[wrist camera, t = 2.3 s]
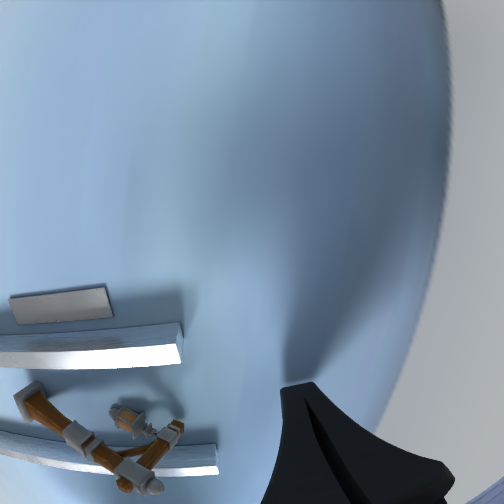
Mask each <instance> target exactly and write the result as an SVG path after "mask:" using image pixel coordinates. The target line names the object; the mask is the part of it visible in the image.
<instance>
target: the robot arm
mask: <svg viewBox="0 0 504 504" xmlns="http://www.w3.org/2000/svg"><path fill="white" fill-rule="evenodd" d="M280 396H281V408H282V419H283V426H282V434H281V441H280V446H279V451H278V456H277V460H276V463H275V467H274V470H273V473H272V477H271V479H270V482H269V485H268V487H267V490H266V492H265V495H264V497H263V499H262V501H261V504H447V502H446V500H445V499H444V496H445V495H446V494H447V493H448V491H449V490H450V489H451V487H452V486H453V484H454V482H455V477H454V476H453V475H452V473H451V472H450V471H449V469H448V468H447V467H446V466H445V465H444V464H443V463H442V462H441V461H437V460H433V459H429V458H425V457H421V456H418V455H415V454H412V453H410V452H407V451H405V450H403V449H400V448H398V447H396V446H393V445H391V444H389V443H387V442H385V441H384V440H382V439H380V438H378V437H377V436H375V435H373V434H372V433H370V432H369V431H367V430H366V429H364V428H363V427H361V426H360V425H359V424H357V423H356V422H355V421H353V420H352V419H351V418H349V417H348V416H347V415H346V414H345V413H344V412H342V411H341V410H340V409H339V408H338V407H337V406H336V405H335V404H334V403H333V402H332V401H331V400H330V399H329V398H328V397H327V396H326V395H325V394H324V393H323V392H322V391H321V390H320V389H319V388H318V387H317V386H316V384H315V383H313V382H308V383H304V384H299V385H294V386H289V387H284V388H282V389H281V390H280ZM466 504H504V477H502V478H501V479H500V480H499V481H498V482H496V483H495V484H493V485H492V486H491V487H489V488H488V489H486V490H485V491H484V492H482V493H481V494H479V495H478V496H476V497H475V498H473V499H472V500H470V501H469V502H467V503H466Z"/></svg>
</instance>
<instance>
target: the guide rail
mask: <svg viewBox="0 0 504 504" xmlns="http://www.w3.org/2000/svg"><path fill="white" fill-rule="evenodd" d="M8 300H9V303H10V306H11V308H12V311H13V314H14V316H15V319H16V322H17V324H18V325H21V324H37V323H51V322H65V321H77V320H88V319H99V318H110V317H113V312H112V309H111V306H110V303H109V299H108V296H107V292H106V289H105V287H99V288H91V289H84V290H76V291H68V292H60V293H52V294H43V295H35V296H27V297H18V298H10V299H8ZM183 343H184V338H183V335H182V331H181V327H180V322H175V323H166V324H157V325H148V326H138V327H128V328H118V329H106V330H94V331H80V332H65V333H48V334H25V335H0V367H6V368H26V369H103V368H125V367H141V366H154V365H166V364H176V363H181V358H182V351H183ZM107 447H108V448H110V449H112V450H114V451H122V450H127V449H132V448H137V447H117V446H107ZM0 454H3V455H6V456H10V457H13V458H17V459H21V460H25V461H29V462H33V463H38V464H42V465H47V466H52V467H57V468H63V469H69V470H75V471H82V472H90V473H99V474H109V475H114V474H113V473H111V472H110V471H108V470H107V469H105V468H104V467H103V466H101V465H100V464H98V463H96V464H95V465H94V464H93V463H92V462H90V461H89V459H88V457H86V458H84V457H83V455H82V454H81V453H79V452H78V451H77V450H76V449H74V448H73V447H72V446H70V445H68V444H67V443H66V442H59V441H52V440H45V439H39V438H33V437H28V436H23V435H18V434H13V433H8V432H4V431H0ZM141 456H142V455H138V456H133V457H129V458H130V459H131V460H133V461H134V462H136V461H137V460H138V459H139V458H140V457H141ZM124 459H125V458H124ZM151 471H154V472H155V477H180V476H201V475H215V474H219V463H218V451H217V448H216V445H215V444H204V445H191V446H174V447H173V448H172V450H171V451H167V452H166V453H165V455H164V456H163V457H162V458H161V459H160V461H159V462H158V463H157V464H156V465H155V467H154V468H153V469H152V470H151Z"/></svg>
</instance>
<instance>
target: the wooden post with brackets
mask: <svg viewBox="0 0 504 504" xmlns="http://www.w3.org/2000/svg"><path fill="white" fill-rule="evenodd" d="M13 397H14V399H15V402H16V404H17V406H18V409H19V411H20V413H21V415H22V418H23V420H24V421H26V422H28V424H29V423H31V422H32V421H33V420H36V421H38V422H40V423H41V424H43V425H44V426H46V427H48V428H49V429H51V430H53V431H54V432H56V433H58V434H59V435H60V436H62V437H63V438H64V439H65V440H66V443H67V444H68V445H70V446H72V447H73V448H74V449H76V450H77V451H78V452H79V453H81V454H82V455H83V457H84V458H86V457H88V459H89V461H90V462H92V463H93V464H94V465H95V464H96V463H98V464H100V465H101V466H103V467H104V468H105V469H107V470H108V471H110V472H111V473H113V474H114V475H116V477H117V480H116V482H117V485H118V488H119V489H120V490H121V491H123V492H126V493H130V492H131V491H132V490H135V491H137V492H138V493H140V494H141V495H142V496H143V497H145V495H146V494H147V493H148V492H149V493H150V494H152V495H159V494H161V493H162V492H163V491H164V485H163V484H162V482H161V481H159V480H157V479H156V478H155V472H154V471H151V470H152V469H153V468H154V467H155V465H156V464H157V463H158V462H159V461H160V459H161V458H162V457H163V456H164V455H165V453H166V452H167V451H171V450H172V448H173V447H174V446H175V445H176V444H177V442H178V438H180V435H181V434H182V433H183V432H184V423H182V422H180V421H177V420H174V419H173V421H172V422H171V423H170V424H169V425H168V427H167V428H166V427H164V428H163V429H162V430H161V431H160V432H158V431H157V430H156V429H154V428H152V424H151V423H150V424H149V425H147V423H145V415H144V412H143V411H142V412H141V414H140V415H139V414H137V413H135V412H133V411H131V410H130V409H128V408H127V407H124V406H122V407H121V408H120V409H118V408H112V409H111V410H110V412H109V415H110V417H111V418H112V419H113V420H114V422H115V426H116V428H121V429H123V430H126V431H128V432H130V433H132V437H133V439H135V438H136V437H137V436H138V435H139V434H140V433H142V434H144V433H145V438H147V437H148V436H155V437H156V438H157V439H156V440H155V441H153V442H152V443H150V444H149V445H146V446H141V447H137V448H132V449H127V450H122V451H114V450H112V449H110V448H108V447H107V446H106V445H105V444H104V441H103V439H101V438H100V437H99V436H97V437H96V438H95V436H94V433H93V432H91V431H88V430H87V429H85V428H84V427H83V426H81V425H80V424H79V423H78V422H77V421H76V420H74V421H73V422H72V421H71V420H69V419H68V418H66V417H65V416H64V415H63V414H62V413H61V412H59V411H58V410H57V409H56V408H55V407H54V406H53V405H52V404H51V403H50V402H49V401H48V400H47V398H46V395H45V392H44V389H43V386H42V384H41V383H39V382H37V381H34V382H33V383H31V384H30V385H28V386H27V387H25V388H24V389H22V390H21V391H19V392H18V393H16V394H15V395H13ZM153 430H154V431H153ZM152 432H153V434H151V433H152ZM157 433H158V435H156V434H157ZM138 455H142V456H141V457H140V458H139V459H138V460H137V461H136V462H134V461H133V460H131V459H130V458H129V457H133V456H138ZM124 458H125V459H124Z"/></svg>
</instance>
